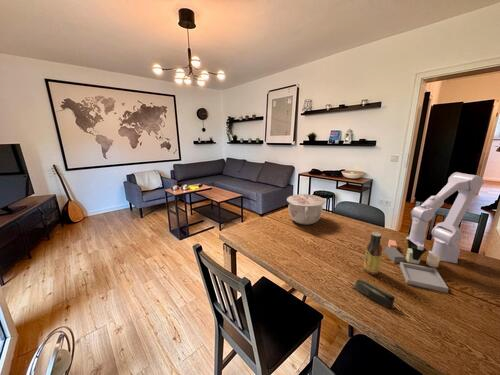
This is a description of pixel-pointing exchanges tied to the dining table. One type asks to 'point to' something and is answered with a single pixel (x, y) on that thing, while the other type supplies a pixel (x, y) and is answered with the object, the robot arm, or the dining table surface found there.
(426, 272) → the grey tray
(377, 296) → the dark grey bar
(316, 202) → the chamber pot
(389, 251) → the grey rectangular block
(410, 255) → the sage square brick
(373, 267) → the sauce bottle
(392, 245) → the terracotta slim brick
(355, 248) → the dining table surface
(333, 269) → the dining table surface
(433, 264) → the cream round brick
